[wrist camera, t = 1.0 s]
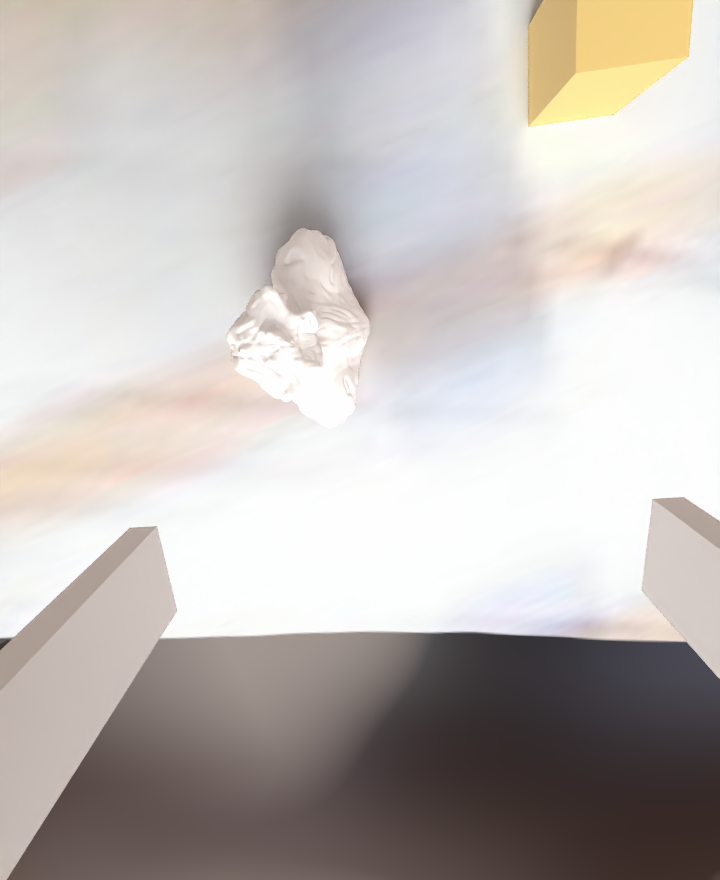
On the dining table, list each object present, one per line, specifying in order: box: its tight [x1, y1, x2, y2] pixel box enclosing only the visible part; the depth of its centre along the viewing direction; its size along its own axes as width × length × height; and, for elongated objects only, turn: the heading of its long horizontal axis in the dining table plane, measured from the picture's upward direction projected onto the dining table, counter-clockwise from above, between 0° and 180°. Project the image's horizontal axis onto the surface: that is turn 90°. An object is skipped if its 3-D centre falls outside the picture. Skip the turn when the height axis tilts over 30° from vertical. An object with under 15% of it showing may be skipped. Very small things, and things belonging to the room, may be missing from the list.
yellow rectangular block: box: [528, 0, 693, 127], centre depth 24 cm, size 5×5×7 cm
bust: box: [227, 228, 370, 428], centre depth 28 cm, size 12×8×11 cm
